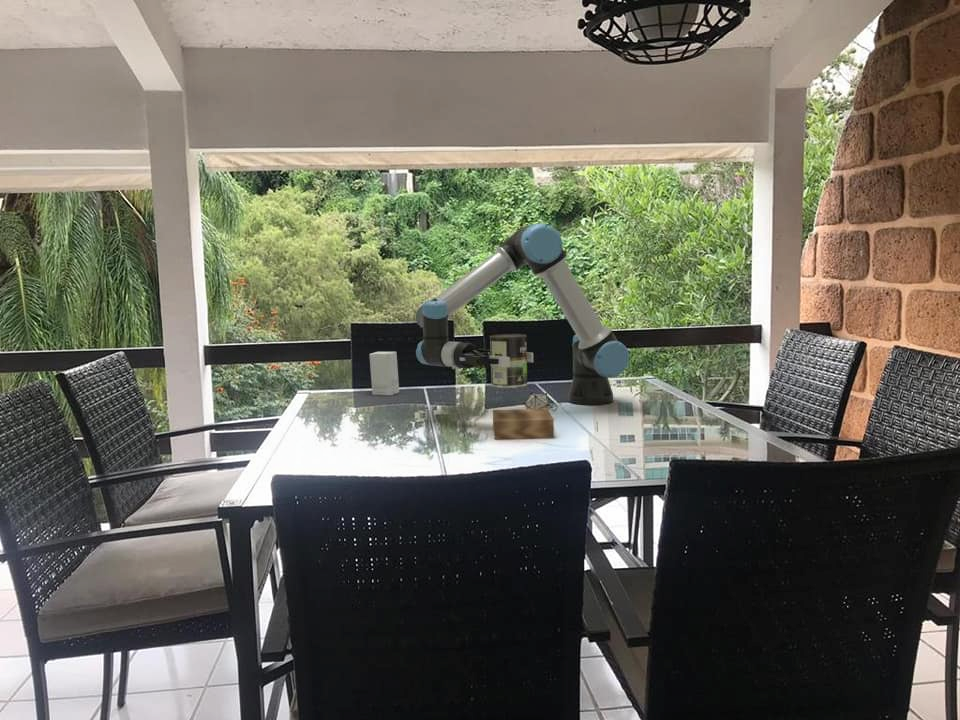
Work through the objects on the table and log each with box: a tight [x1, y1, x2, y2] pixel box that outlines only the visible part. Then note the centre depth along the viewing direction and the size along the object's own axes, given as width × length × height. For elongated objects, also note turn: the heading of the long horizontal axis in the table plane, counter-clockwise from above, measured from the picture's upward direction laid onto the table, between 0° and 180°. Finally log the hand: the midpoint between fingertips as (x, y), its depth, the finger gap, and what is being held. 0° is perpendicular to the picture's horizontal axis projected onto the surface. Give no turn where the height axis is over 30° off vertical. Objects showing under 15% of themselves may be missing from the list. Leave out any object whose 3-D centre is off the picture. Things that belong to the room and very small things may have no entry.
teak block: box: [492, 408, 555, 440], centre depth 219 cm, size 16×16×5 cm
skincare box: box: [369, 351, 400, 396], centre depth 287 cm, size 8×7×16 cm
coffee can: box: [489, 333, 529, 389], centre depth 218 cm, size 10×10×14 cm
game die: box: [522, 391, 554, 411], centre depth 237 cm, size 9×8×10 cm
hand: (521, 359), depth 216 cm, fingers closed on coffee can, 10 cm apart
